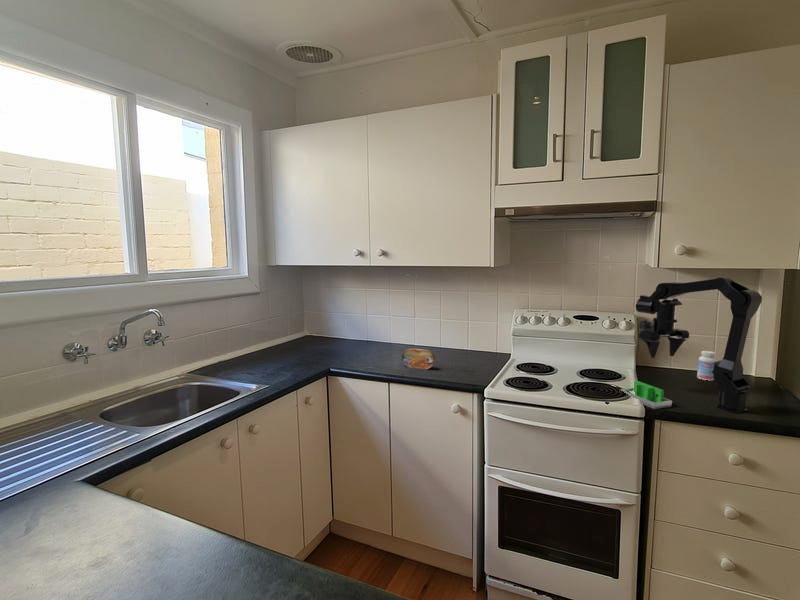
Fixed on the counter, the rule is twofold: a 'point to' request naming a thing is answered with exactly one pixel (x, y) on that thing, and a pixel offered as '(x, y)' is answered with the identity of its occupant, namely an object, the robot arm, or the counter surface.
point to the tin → (418, 358)
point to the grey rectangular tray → (647, 402)
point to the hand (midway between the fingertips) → (662, 357)
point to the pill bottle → (706, 365)
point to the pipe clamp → (648, 391)
